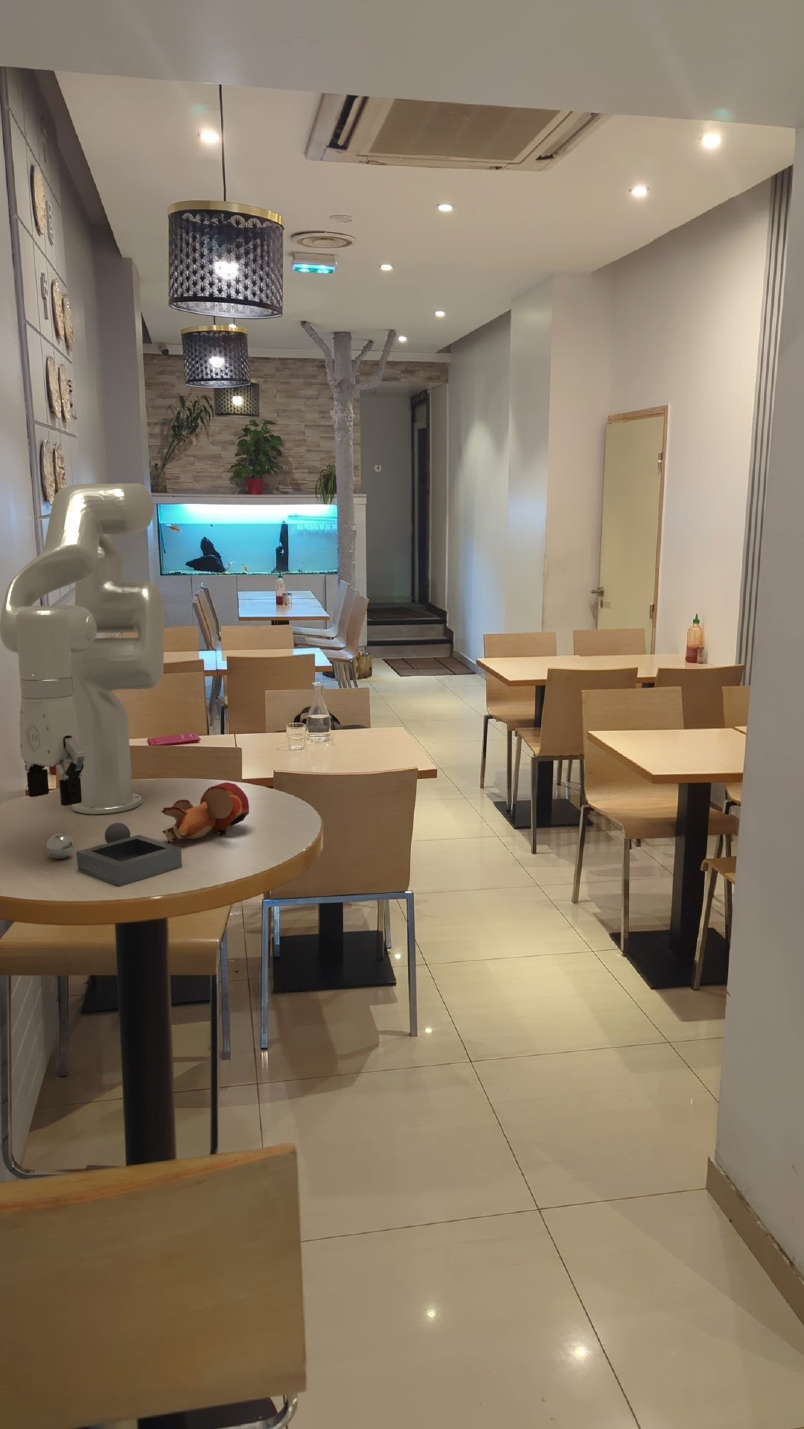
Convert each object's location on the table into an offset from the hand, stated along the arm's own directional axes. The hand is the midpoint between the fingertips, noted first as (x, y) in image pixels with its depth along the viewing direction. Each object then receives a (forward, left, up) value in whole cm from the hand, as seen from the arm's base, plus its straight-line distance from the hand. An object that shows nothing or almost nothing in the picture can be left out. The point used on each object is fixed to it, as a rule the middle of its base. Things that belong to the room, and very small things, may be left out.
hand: (54, 799), depth 151 cm
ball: (+1, +10, -8) cm, 12 cm away
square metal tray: (+12, +5, -10) cm, 16 cm away
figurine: (+7, +22, -10) cm, 25 cm away
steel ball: (-1, +1, -8) cm, 8 cm away
